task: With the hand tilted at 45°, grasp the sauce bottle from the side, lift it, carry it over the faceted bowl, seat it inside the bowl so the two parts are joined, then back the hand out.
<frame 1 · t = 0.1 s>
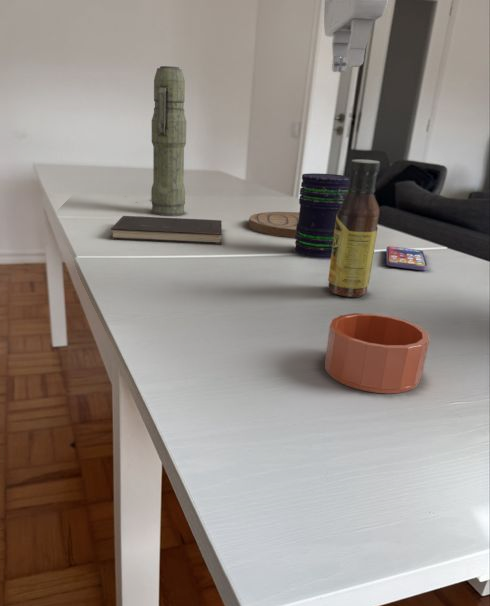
hand: (345, 69, 70), 31 cm above the table, tool pointing down, fingers open, 8 cm apart
smartphone: (405, 261, 108), on the table
sauce bottle: (346, 294, 86), on the table
trivet: (299, 229, 135), on the table
thermos: (168, 213, 148), on the table
faceted bowl: (371, 372, 60), on the table
storage jar: (317, 253, 112), on the table
hardcover book: (169, 235, 122), on the table
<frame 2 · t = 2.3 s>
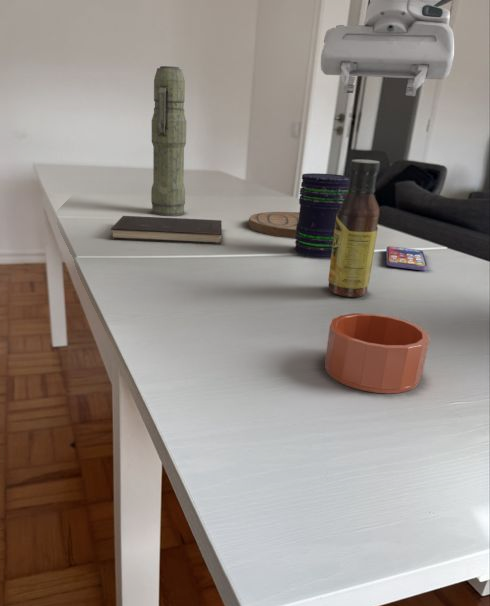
hand: (379, 91, 85), 29 cm above the table, tool tilted 45°, fingers open, 8 cm apart
nothing on the table moved.
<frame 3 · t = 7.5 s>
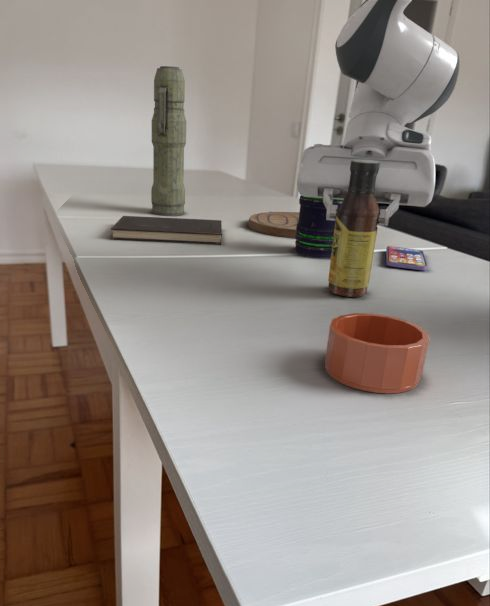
hand: (357, 220, 81), 11 cm above the table, tool tilted 45°, fingers closed on sauce bottle, 6 cm apart
sauce bottle: (346, 294, 86), on the table, touching gripper
everything else where it was.
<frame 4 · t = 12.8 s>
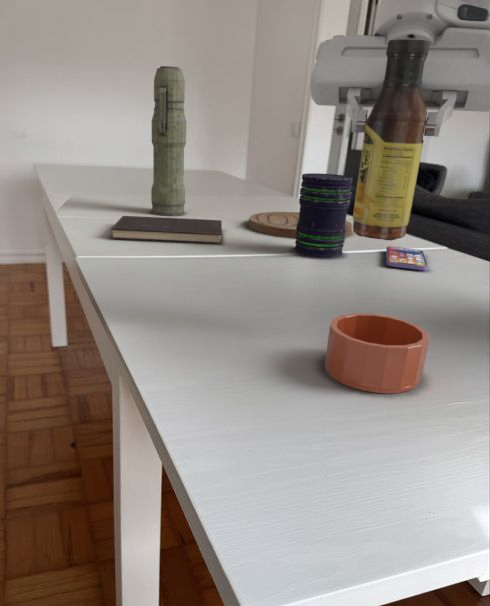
hand: (394, 130, 58), 24 cm above the table, tool tilted 45°, fingers closed on sauce bottle, 6 cm apart
sauce bottle: (377, 237, 63), point 13 cm above the table, touching gripper
everything else where it was.
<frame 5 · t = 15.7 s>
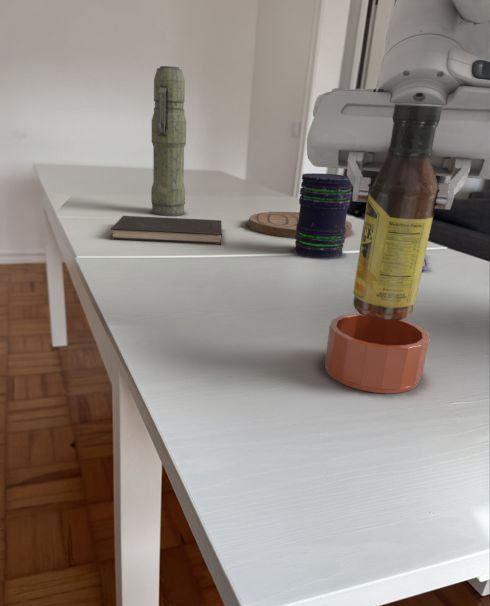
hand: (401, 201, 52), 18 cm above the table, tool tilted 45°, fingers closed on sauce bottle, 6 cm apart
sauce bottle: (380, 314, 57), point 7 cm above the table, touching gripper
everything else where it was.
when the fingers open (12 cm above the table, at t = 18.0 s): sauce bottle stays where it is, resting on faceted bowl.
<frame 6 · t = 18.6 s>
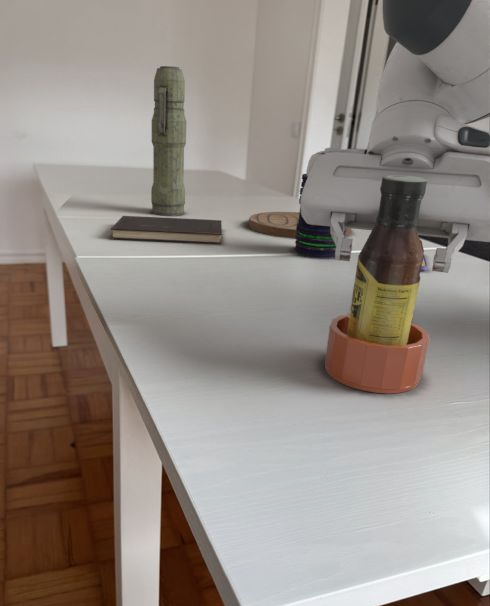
hand: (390, 263, 54), 12 cm above the table, tool tilted 45°, fingers open, 8 cm apart
sauce bottle: (371, 369, 59), resting on faceted bowl
everything else where it was.
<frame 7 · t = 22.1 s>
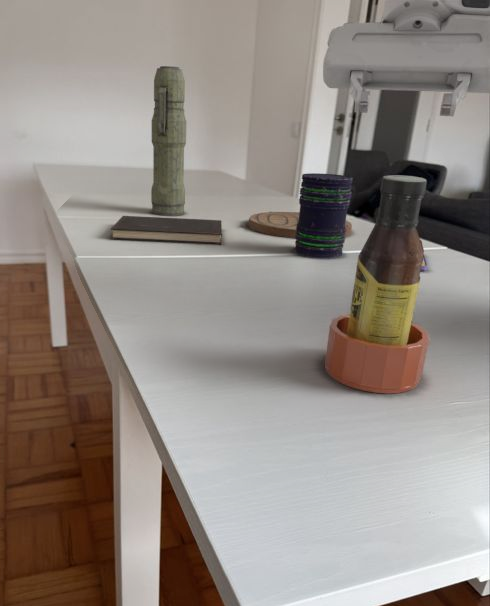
hand: (403, 110, 62), 26 cm above the table, tool tilted 45°, fingers open, 8 cm apart
nothing on the table moved.
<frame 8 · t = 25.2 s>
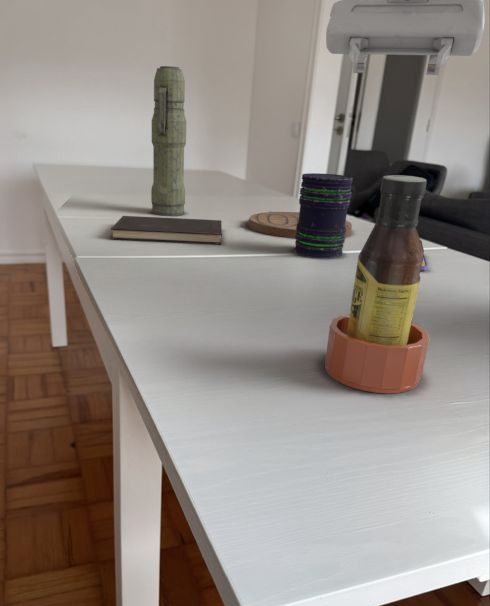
hand: (395, 69, 72), 31 cm above the table, tool tilted 45°, fingers open, 8 cm apart
nothing on the table moved.
at the end: sauce bottle 0.1 cm off-centre in the faceted bowl, point 0.3 cm above the faceted bowl's base; sauce bottle tilted 0°; the gripper is holding nothing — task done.
